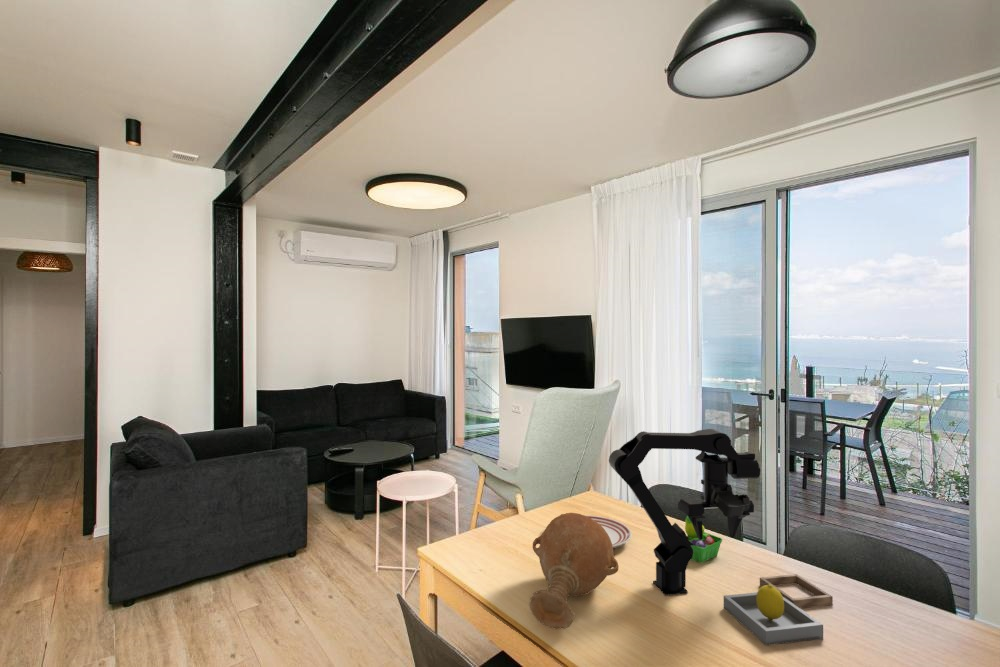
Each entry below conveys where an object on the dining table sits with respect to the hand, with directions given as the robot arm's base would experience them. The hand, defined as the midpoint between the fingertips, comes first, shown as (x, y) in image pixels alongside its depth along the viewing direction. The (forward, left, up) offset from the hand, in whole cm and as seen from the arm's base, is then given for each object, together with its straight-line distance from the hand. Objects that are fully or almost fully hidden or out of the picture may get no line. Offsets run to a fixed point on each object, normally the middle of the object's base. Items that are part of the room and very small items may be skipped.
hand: (716, 538), depth 121 cm
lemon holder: (+18, -6, -13) cm, 23 cm away
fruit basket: (+7, +18, -13) cm, 23 cm away
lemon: (+3, -15, -13) cm, 20 cm away
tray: (+3, -15, -13) cm, 20 cm away
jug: (-41, +2, -13) cm, 43 cm away
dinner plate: (-22, +35, -14) cm, 43 cm away
